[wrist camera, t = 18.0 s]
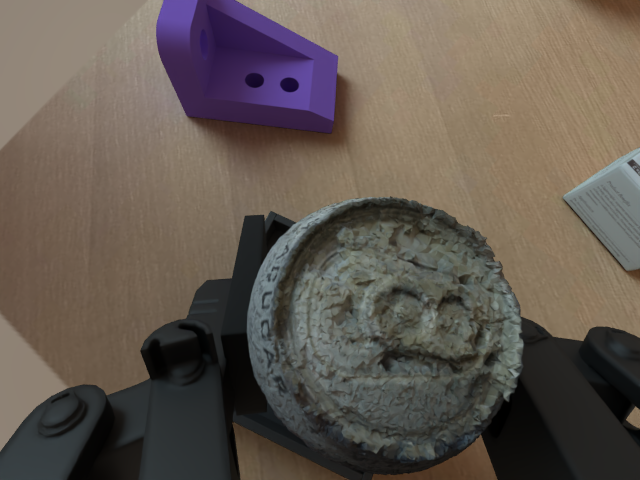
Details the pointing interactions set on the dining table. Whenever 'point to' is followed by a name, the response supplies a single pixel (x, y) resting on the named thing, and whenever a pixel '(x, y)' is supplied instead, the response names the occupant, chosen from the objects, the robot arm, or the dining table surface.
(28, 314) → the dining table surface
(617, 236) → the small box
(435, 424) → the beverage can
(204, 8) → the bracket
